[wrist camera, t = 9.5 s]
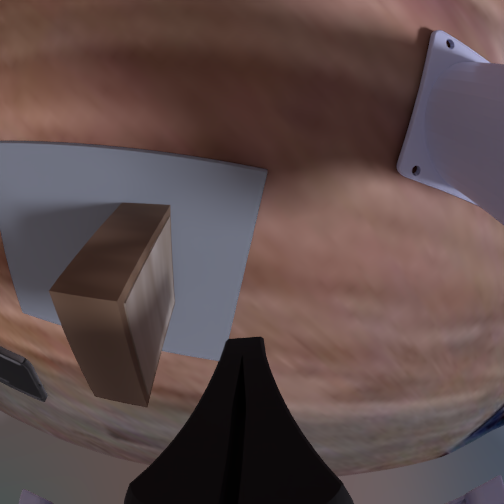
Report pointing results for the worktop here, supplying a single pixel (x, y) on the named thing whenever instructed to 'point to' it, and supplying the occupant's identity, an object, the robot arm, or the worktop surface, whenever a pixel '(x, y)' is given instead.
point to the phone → (20, 375)
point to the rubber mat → (107, 201)
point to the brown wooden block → (120, 301)
